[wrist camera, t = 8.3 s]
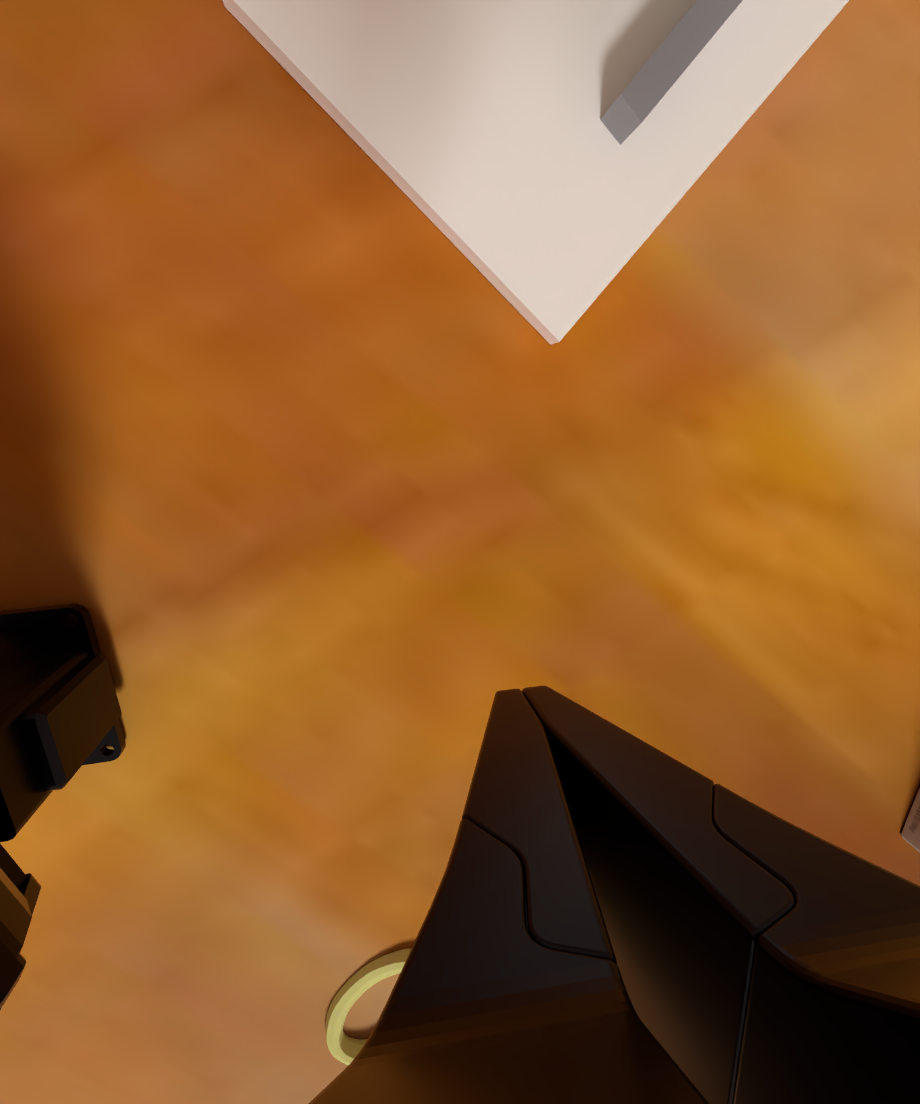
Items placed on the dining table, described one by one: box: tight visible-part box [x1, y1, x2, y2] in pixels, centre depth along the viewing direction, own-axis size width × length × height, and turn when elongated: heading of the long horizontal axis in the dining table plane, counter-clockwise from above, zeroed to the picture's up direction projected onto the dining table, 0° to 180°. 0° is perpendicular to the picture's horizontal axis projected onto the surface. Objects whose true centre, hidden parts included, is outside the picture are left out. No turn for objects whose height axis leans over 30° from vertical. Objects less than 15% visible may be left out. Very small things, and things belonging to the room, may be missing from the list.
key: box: [325, 948, 412, 1065], centre depth 28 cm, size 7×12×2 cm, turn 66°
